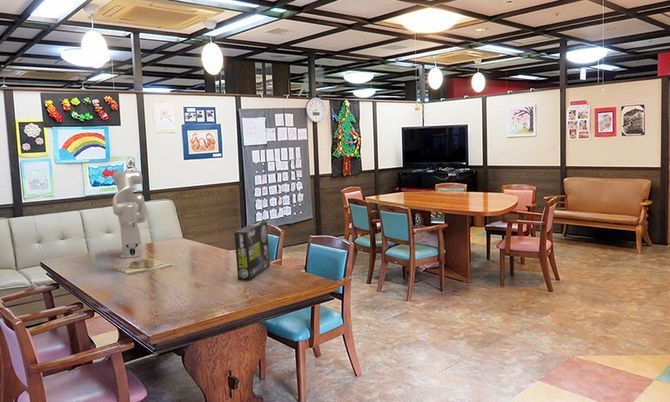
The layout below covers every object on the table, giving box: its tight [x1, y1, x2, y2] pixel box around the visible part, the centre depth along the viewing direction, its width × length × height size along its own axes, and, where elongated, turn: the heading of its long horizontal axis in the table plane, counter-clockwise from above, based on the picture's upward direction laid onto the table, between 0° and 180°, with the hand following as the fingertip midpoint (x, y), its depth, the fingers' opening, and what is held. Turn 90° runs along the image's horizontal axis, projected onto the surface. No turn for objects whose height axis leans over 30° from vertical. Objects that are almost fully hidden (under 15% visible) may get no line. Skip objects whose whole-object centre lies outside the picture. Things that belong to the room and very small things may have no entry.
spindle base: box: [112, 258, 173, 276], centre depth 323 cm, size 26×26×4 cm
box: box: [233, 221, 271, 281], centre depth 296 cm, size 34×7×27 cm, turn 168°
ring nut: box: [129, 257, 154, 268], centre depth 321 cm, size 14×19×5 cm
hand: (132, 255), depth 315 cm, fingers closed
